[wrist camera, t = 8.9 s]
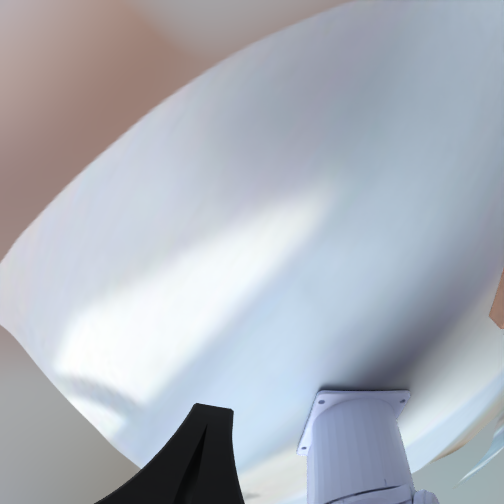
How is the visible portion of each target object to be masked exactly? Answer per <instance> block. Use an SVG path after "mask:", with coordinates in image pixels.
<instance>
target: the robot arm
mask: <svg viewBox="0 0 504 504" xmlns="http://www.w3.org/2000/svg"><path fill="white" fill-rule="evenodd" d="M409 398H410V392H409V391H408V390H401V391H327V390H323V391H320V392H318V393H317V395H316V398H315V401H314V404H313V407H312V410H311V413H310V416H309V418H308V421H307V424H306V427H305V429H304V432H303V435H302V438H301V440H300V443H299V445H298V448H297V454H298V455H302V456H307V504H439V502H438V499H437V497H436V496H435V494H434V493H432V492H428V491H427V490H424V489H423V490H420V491H418V492H417V491H416V490H415V489H414V484H413V480H412V476H411V472H410V468H409V464H408V460H407V456H406V452H405V449H404V445H403V441H402V438H401V434H400V431H399V427H398V424H397V418H398V416H399V415H400V413H401V411H402V410H403V408H404V406H405V405H406V403H407V401H408V399H409ZM320 400H322V401H320ZM233 415H234V411H233V410H232V409H229V408H222V407H216V406H210V405H205V404H199V403H196V404H194V405H193V407H192V409H191V411H190V412H189V414H188V415H187V417H186V418H185V420H184V421H183V423H182V424H181V425H180V427H179V428H178V430H177V431H176V432H175V433H174V435H173V436H172V437H171V438H170V440H169V441H168V442H167V443H166V444H165V446H164V447H163V448H162V449H161V450H160V451H159V452H158V453H157V454H156V455H155V456H154V458H153V459H152V460H151V461H150V462H149V463H148V464H147V465H146V466H145V467H144V468H142V469H141V470H140V471H139V472H138V473H137V474H136V475H135V476H134V477H132V478H131V479H130V480H129V481H127V482H126V483H125V484H123V485H122V486H121V487H119V488H118V489H117V490H115V491H114V492H112V493H111V494H109V495H108V496H106V497H105V498H103V499H101V500H100V501H98V502H96V503H94V504H245V503H244V500H243V496H242V493H241V489H240V485H239V481H238V476H237V471H236V466H235V460H234V453H233V444H232V429H233Z"/></svg>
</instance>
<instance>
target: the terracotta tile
mask: <svg viewBox="0 0 504 504" xmlns="http://www.w3.org/2000/svg"><path fill="white" fill-rule="evenodd" d="M489 317H490V318H491V319H492V320H493V321H494V322H495V323H496V324H497V326H498V327H499V328H500V329H504V269H503V272H502V276H501V279H500V283H499V286H498V290H497V293H496V296H495V299H494V302H493V305H492V308H491V311H490V314H489Z"/></svg>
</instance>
